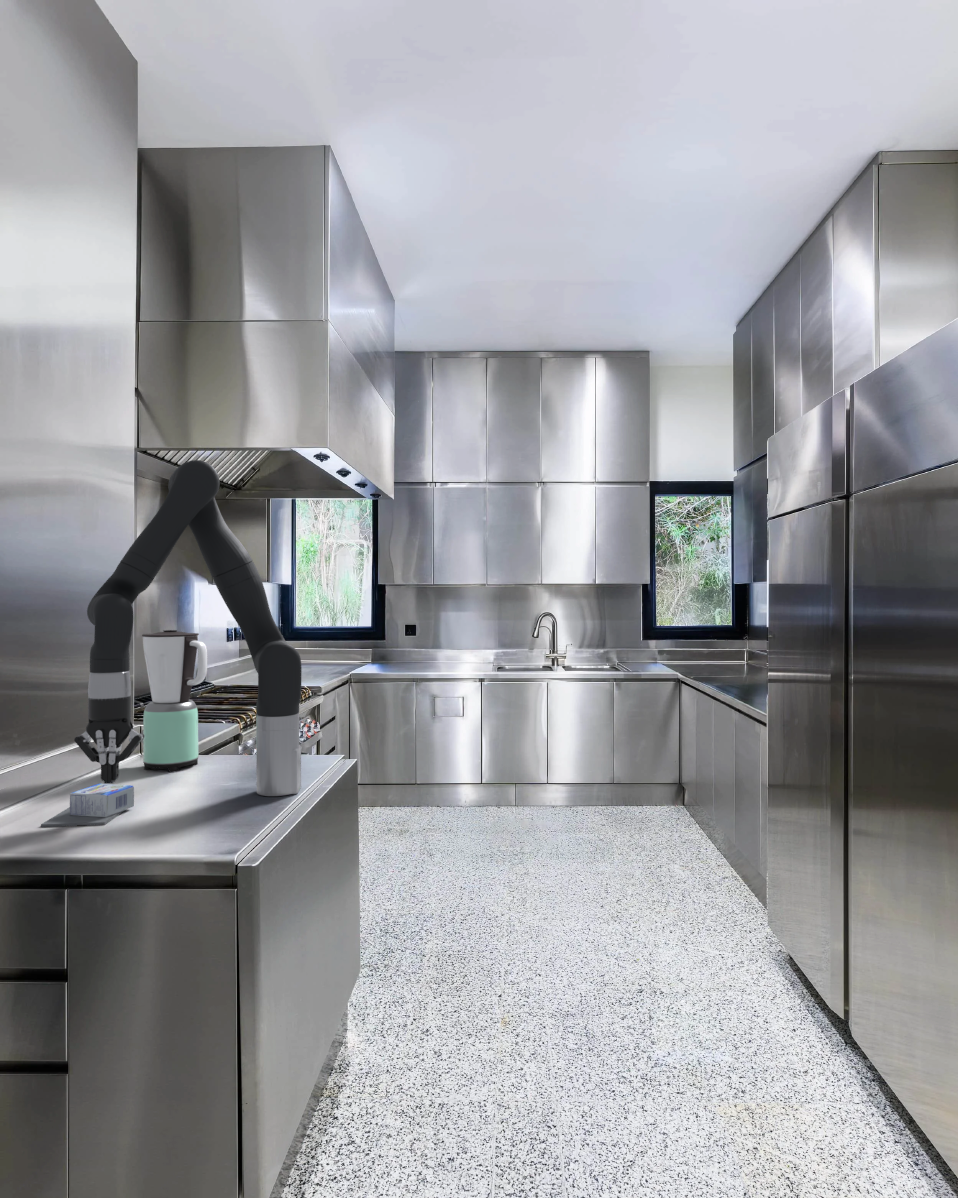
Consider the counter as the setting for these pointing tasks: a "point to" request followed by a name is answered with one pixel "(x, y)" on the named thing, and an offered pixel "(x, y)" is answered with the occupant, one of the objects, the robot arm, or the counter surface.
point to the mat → (76, 819)
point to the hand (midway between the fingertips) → (109, 782)
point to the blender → (172, 699)
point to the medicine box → (101, 800)
